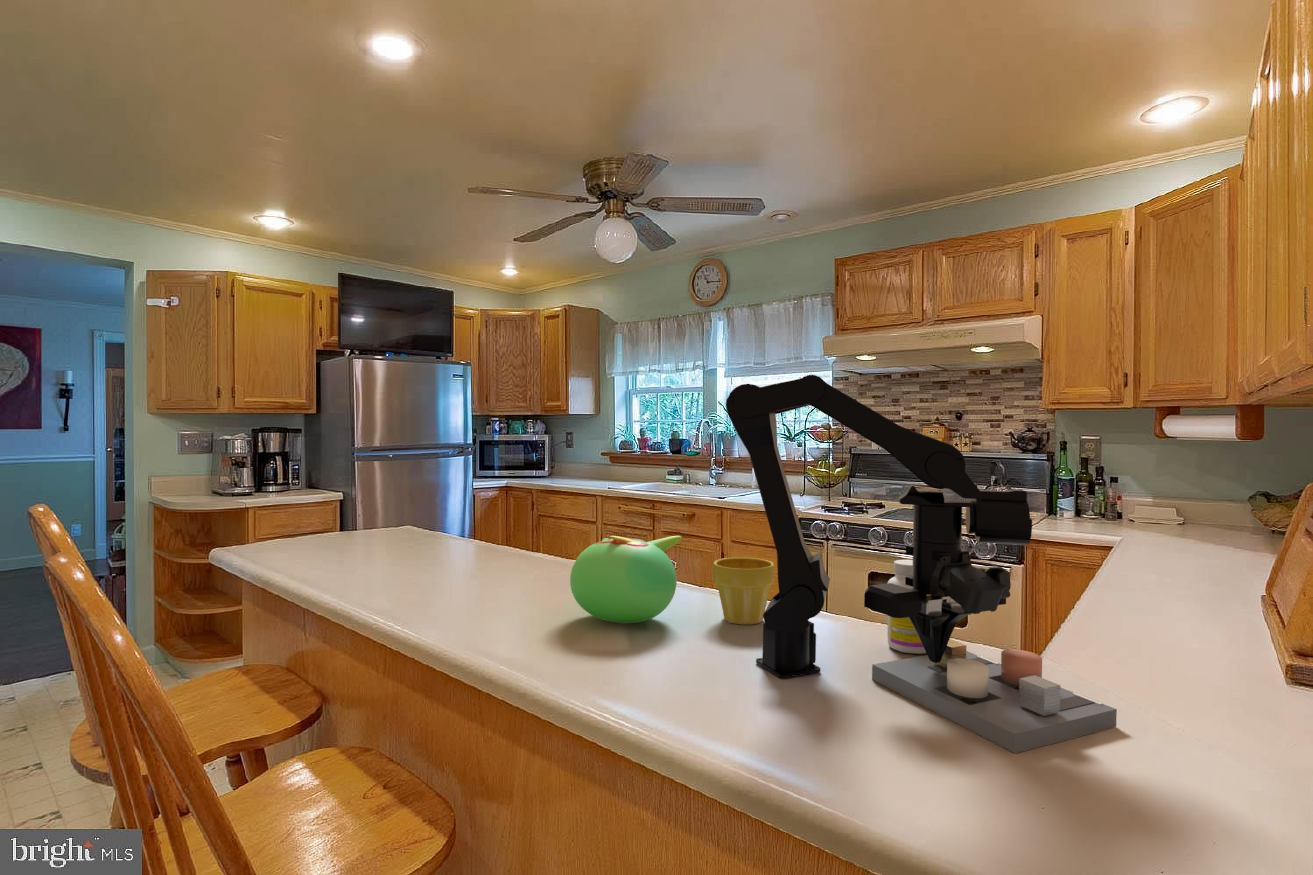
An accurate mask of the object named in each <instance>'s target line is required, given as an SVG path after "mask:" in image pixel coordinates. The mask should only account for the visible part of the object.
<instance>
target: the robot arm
mask: <svg viewBox="0 0 1313 875" xmlns="http://www.w3.org/2000/svg"><path fill="white" fill-rule="evenodd" d="M808 406H811V407H813V408H815V409H816V410H818V411H820V412H822V414H825V415H827V416H828V417H830V418H831V419H833V420H834V421H836V422H839V424H842V425H843V426H845V427H846V428H848V429H850V430H851V431H853V432H855V433H857V434H858V435H860V436H861V437H863V438H865V439H867V440H868V441H870V442H872V443H873V444H875V445H877V446H878V447H880V448H882V449H883V450H884V451H886V452H888V453H889V454H890V455H891V456H892V457H893V458H894V459H895V460H897V461H898V462H899V463H900V464H902V465H903V466H904V467H905V468H906V469H907V470H908V471H910V472H911V473H912V474H913V475H914V476H916V478H917V479H919V480H920V481H921V482H923V484H925V485H926V486H928V487H931V488H932V489H938V490H943V489H944V490H945V489H949V490H950V491H952V493H955V494H956V495H958V496H959V497H961V498H963V500H961V499H945V495H944V493H943V491H926V490H924V491H923V490H922V491H921V490H918V489H917V488H916V487H915V485H914V484H910V485H909V486H908V488H907V490H905V492H903V493H902V494H901V495H899V496H898V498H897V499H898V502H899V504H900V505H909V506H910V505H912V506H913V524H912V525H913V527H912V528H913V529H912V534H913V535H912V544H910V545H909V544H907V545H905V554H908V555H912V560H913V574H912V576H909V577H905V585H909V586H912V587H913V589H908V588H905V587H901V586H898V585H895V584H892V583H888V582H887V583H888V584H887V583H879V584H872V585H871V584H870V585H869V586H868V587H867V588H866V589H865V590H864V598H863V601H864V603H863V606H864V608H867V609H870V610H872V611H875V612H877V613H879V614H883V615H884V616H885V615H886V616H887V615H888V616H890V617H893V618H906V617H909V618H910V620H911V622H912V624H913V625H914V627H915V629H916V631H917V633H918V636H919V638H920V640H921V642H922V644H923V647H924V649H925V651H926V653H925V654H926V655H928V658H929V660H930V661H932V662H934V663H938V662H940V661H941V659H942V656H943V654H944V651H945V649H946V646H947V644H948V641H949V639H951V636H952V634H953V632H954V629H955V627H956V625H957V624H958V622H960V621H961V620H963V619H964V618H965V617H967V616H971V615H972V614H973V615H977V614H980V613H984V612H991V613H992V612H996V611H997V609H998V606H1002V605H1007V598H1008V599H1009V598H1010V597H1011V592H1010V590H1011V587H1012V586H1011V585H1012V584H1011V573H1010V571H1008V570H1007V569H1005V568H1004V567H1002V566H994V567H989V568H988V569H985V568H976V567H975V566H973V565H972V555H971V554H970V550H967V549H962V540H963V539H962V536H963V535H962V532H963V531H962V530H963V522H962V521H963V508H965V530H966V533H967V535H973V534H974V538H975V541H976V543H980V544H997V545H998V544H999V545H1011V546H1012V545H1014V546H1028V545H1030V542H1031V538H1032V533H1033V519H1032V518H1031V513H1030V507H1029V503H1028V493H1027V491H1026V490H1024V489H1007V490H999V489H998V490H995V489H994V490H993V489H979V488H978V484H977V483H976V482H974V481H973V480H972V478H971V477H970V476H969V475H968V474H967V472H966V460H965V457H964V455H963V452H961V451H960V450H959V449H958V448H957V447H956V446H954V445H951V443H950V444H949V443H947V442H945V441H941V440H939V439H935V438H933V437H930V436H928V435H925V434H923V433H920V432H918V431H914V430H911V429H909V428H906V427H903V426H901V425H899V424H898V423H896V422H894V421H892V420H890V419H889V418H887V417H886V416H884V415H882V414H880V413H879V412H877V411H875V410H874V409H872V408H870V407H868V406H866V405H865V404H863V403H861V402H859V401H858V400H856V399H854V398H853V397H851V396H849V395H848V394H846V393H844V392H842V391H841V390H839V389H837V388H836V387H834V386H832V385H830V384H828V383H827V382H826V381H825V380H824V379H823V378H822V377H821V376H818V375H815V374H809V375H808V374H807V375H804V376H803V377H801V378H797V379H793V380H788V381H784V382H783V381H782V382H778V383H773V384H768V385H765V386H758V385H756V384H751V383H745V384H743V383H742V384H740V385H737V386H736V387H735V388H733V389H732V390H731V392H730V393H729V394H728V395H727V399H726V403H725V410H726V413H727V415H728V418H729V419H730V422H731V424H732V426H733V427H734V429H735V432H736V434H737V436H738V437H739V439H740V441H741V442H742V444H743V446H744V448H745V449H746V451H747V453H748V455H749V458H750V462H751V465H752V469H753V472H754V476H755V479H756V482H757V486H758V489H759V494H760V497H761V501H762V503H763V507H764V512H765V514H766V519H767V522H768V525H769V530H770V531H771V532H770V533H771V536H772V540H773V543H774V548H775V549H776V566H777V567H776V568H777V585H778V593H776V594H775V595H774V596H773V597H771V599H770V601H769V603H768V605H767V606H766V608H765V612H764V614H763V618H764V619H763V621H762V657H759V658H756V659H755V663H756V664H758V665H759V666H760V667H763V668H764V669H765V670H767V671H769V672H770V673H772V674H774V675H775V676H776V677H778V678H781V679H785V678H786V679H787V678H792V677H797V676H805V675H809V674H816V673H820V672H821V669H822V668H821V667H820V666H818V665H816V664H815V663H816V662H817V660H816V659H817V658H816V657H817V656H816V655H817V653H816V652H817V634H816V632H815V623H814V622H812V621H810V619H812V618H814V617H816V616H817V615H819V614H820V612H821V611H822V609H823V608H824V605H825V601H826V597H827V592H828V590H829V586H830V582H831V578H830V577H829V575H828V574H827V572H826V570H825V566H824V558H823V552H818V553H816V554H812V553H811V550H810V549H809V547H808V545H807V543H806V541H805V539H804V534H803V531H802V528H801V524H800V521H799V517H798V514H797V510H796V506H795V503H794V499H793V496H792V494H791V489H790V486H789V483H788V479H787V476H786V472H785V468H784V465H783V461H782V458H781V454H780V451H779V447H778V446H779V445H778V428H777V427H778V426H777V425H778V424H777V416H776V415H778V414H782V413H785V412H790V411H793V410H797V409H801V408H804V407H808ZM964 499H965V500H964ZM966 499H968V500H966ZM969 499H970V500H969ZM928 594H929V595H930V596H927V595H928Z"/></svg>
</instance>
